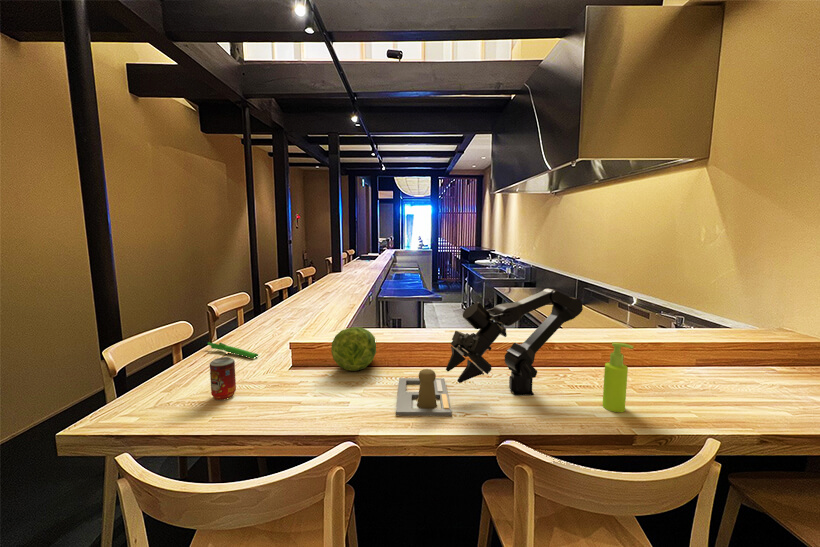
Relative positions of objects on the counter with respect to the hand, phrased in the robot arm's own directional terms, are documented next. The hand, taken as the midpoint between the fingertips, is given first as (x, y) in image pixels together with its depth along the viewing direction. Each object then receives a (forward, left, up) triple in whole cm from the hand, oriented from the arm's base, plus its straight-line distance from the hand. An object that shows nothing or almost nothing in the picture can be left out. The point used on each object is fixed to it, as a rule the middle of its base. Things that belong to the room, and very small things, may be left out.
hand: (452, 376), depth 109 cm
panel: (+9, -3, -8) cm, 13 cm away
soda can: (+73, -2, -8) cm, 74 cm away
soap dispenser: (-49, +4, -8) cm, 50 cm away
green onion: (+92, -43, -9) cm, 102 cm away
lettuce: (+34, -31, -8) cm, 47 cm away
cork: (+8, +3, -8) cm, 12 cm away
